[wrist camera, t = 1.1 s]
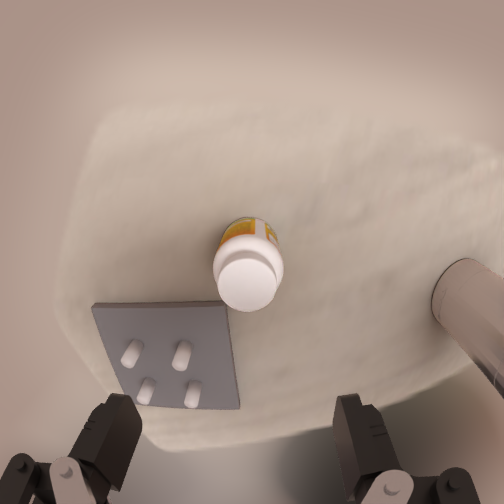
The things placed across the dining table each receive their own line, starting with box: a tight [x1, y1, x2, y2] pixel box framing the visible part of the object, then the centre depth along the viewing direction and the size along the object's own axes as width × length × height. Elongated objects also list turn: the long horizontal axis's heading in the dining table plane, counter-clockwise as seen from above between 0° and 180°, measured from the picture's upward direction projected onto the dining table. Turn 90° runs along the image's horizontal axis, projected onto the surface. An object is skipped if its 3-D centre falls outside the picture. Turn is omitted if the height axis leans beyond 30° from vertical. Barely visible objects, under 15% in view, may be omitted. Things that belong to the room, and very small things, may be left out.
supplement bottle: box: [213, 218, 283, 312], centre depth 24 cm, size 5×5×10 cm
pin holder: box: [91, 301, 240, 410], centre depth 31 cm, size 16×16×5 cm
